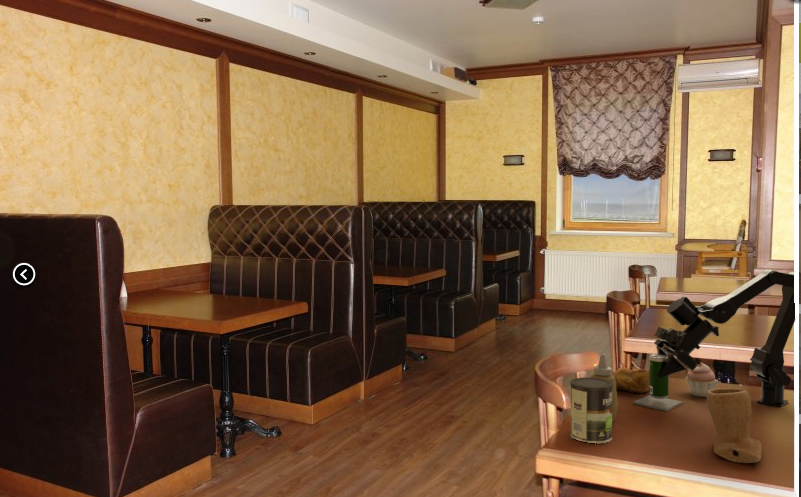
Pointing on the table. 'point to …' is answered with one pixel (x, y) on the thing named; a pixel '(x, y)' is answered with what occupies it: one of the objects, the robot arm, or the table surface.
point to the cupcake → (701, 380)
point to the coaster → (658, 403)
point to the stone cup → (733, 425)
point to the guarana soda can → (657, 385)
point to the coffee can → (591, 410)
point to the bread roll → (632, 380)
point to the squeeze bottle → (605, 373)
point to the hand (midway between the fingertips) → (654, 374)
